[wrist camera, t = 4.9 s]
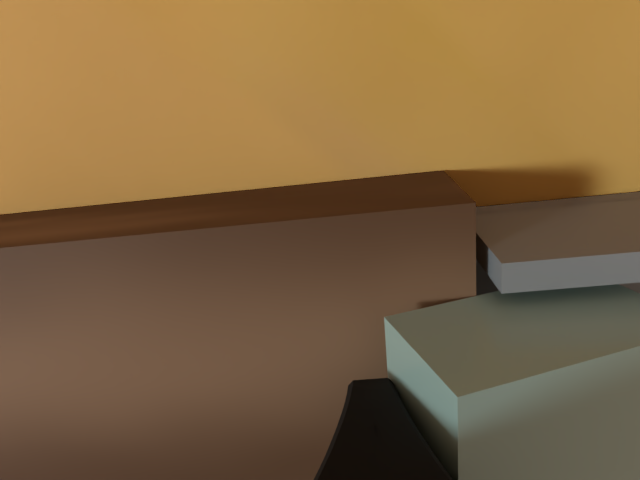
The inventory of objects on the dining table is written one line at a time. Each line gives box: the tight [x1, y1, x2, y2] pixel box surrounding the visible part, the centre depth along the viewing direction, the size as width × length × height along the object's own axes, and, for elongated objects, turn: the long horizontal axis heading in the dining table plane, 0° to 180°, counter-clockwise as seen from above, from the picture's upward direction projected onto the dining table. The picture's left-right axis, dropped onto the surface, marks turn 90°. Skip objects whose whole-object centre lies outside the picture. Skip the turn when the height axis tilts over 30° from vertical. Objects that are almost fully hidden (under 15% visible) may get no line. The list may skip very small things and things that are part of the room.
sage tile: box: [384, 284, 640, 480], centre depth 9 cm, size 5×5×3 cm
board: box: [0, 171, 476, 480], centre depth 13 cm, size 13×12×3 cm
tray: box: [476, 192, 640, 296], centre depth 13 cm, size 14×7×4 cm, turn 6°
